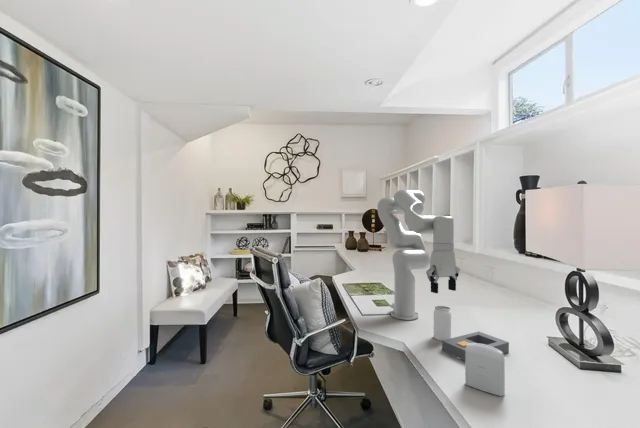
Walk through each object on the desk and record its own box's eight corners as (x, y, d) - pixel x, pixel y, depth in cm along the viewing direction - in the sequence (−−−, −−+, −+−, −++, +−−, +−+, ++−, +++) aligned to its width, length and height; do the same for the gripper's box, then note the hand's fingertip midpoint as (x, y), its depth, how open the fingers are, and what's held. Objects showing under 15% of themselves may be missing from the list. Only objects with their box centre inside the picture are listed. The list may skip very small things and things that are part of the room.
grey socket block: (442, 350, 121) (442, 339, 121) (478, 340, 130) (478, 330, 130) (471, 363, 110) (471, 351, 110) (508, 352, 119) (508, 341, 119)
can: (440, 342, 128) (440, 310, 128) (430, 336, 134) (430, 306, 134) (454, 340, 130) (454, 309, 129) (444, 334, 136) (444, 305, 136)
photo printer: (462, 385, 97) (463, 342, 96) (468, 379, 100) (468, 338, 100) (502, 398, 90) (502, 352, 89) (506, 392, 93) (507, 347, 93)
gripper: (450, 245, 139) (451, 287, 139) (419, 247, 131) (419, 291, 130) (466, 247, 132) (466, 291, 132) (434, 249, 124) (434, 295, 124)
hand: (443, 291), depth 131 cm, fingers open, 9 cm apart
